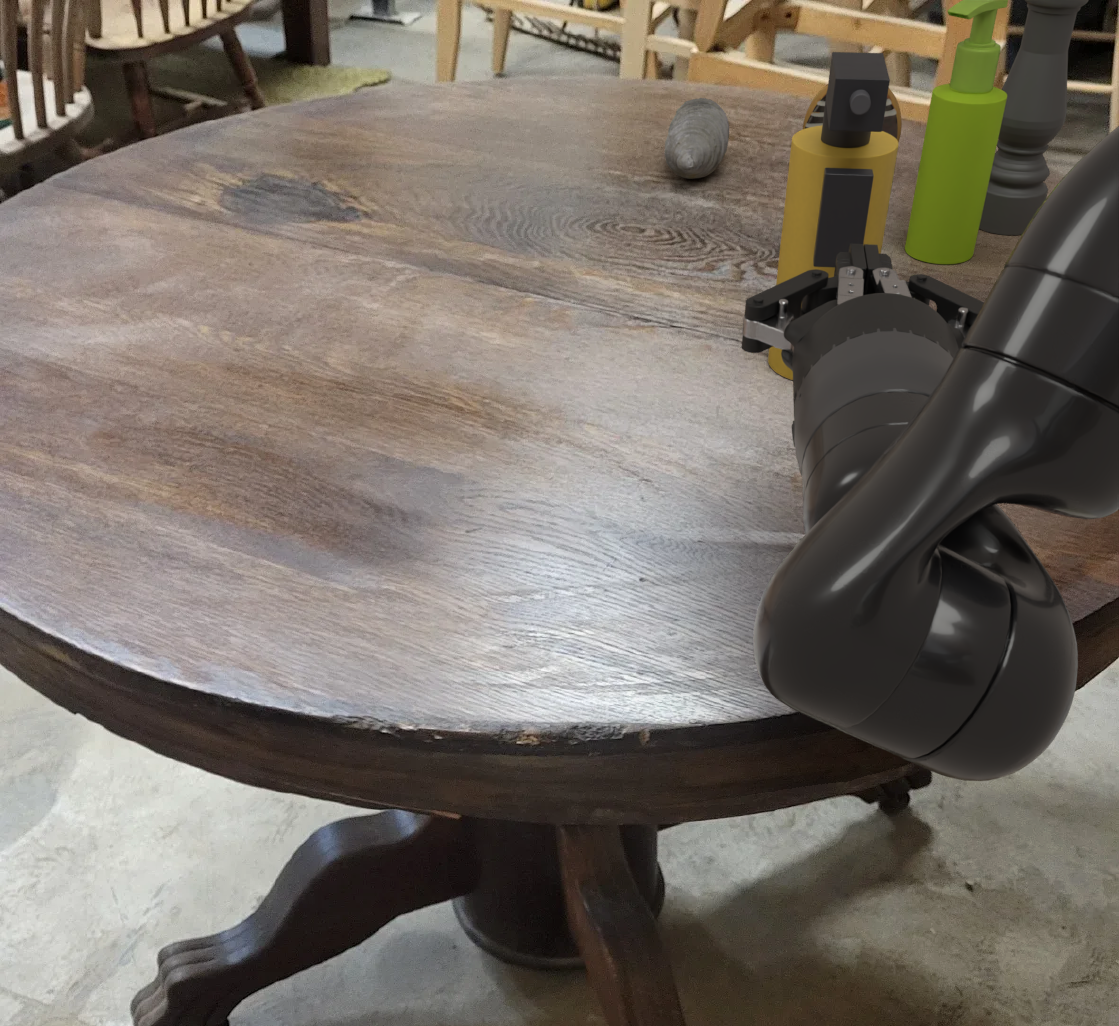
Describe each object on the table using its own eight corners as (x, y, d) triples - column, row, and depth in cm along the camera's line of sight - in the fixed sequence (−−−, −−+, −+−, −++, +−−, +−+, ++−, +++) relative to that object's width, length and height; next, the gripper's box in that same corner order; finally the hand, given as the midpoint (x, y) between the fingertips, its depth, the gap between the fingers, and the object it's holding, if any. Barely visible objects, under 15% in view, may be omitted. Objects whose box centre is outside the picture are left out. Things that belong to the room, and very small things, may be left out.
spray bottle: (859, 344, 94) (908, 37, 80) (867, 413, 86) (924, 84, 72) (768, 340, 95) (800, 35, 81) (767, 407, 87) (803, 81, 73)
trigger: (858, 261, 81) (872, 168, 77) (859, 269, 80) (874, 175, 76) (812, 259, 82) (824, 167, 78) (813, 267, 81) (825, 173, 77)
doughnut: (796, 180, 122) (808, 71, 116) (799, 167, 125) (811, 61, 118) (892, 186, 120) (910, 76, 114) (893, 173, 123) (911, 66, 117)
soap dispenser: (883, 253, 108) (926, -1, 95) (930, 233, 111) (977, -15, 98) (940, 273, 104) (992, 12, 91) (986, 252, 108) (1043, -3, 95)
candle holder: (972, 207, 116) (1037, -103, 100) (1040, 214, 114) (1117, -100, 98) (967, 231, 111) (1034, -90, 95) (1038, 238, 110) (1118, -86, 94)
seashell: (651, 165, 117) (675, 75, 115) (659, 176, 130) (680, 95, 127) (715, 183, 117) (740, 93, 114) (716, 192, 130) (739, 111, 127)
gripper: (1059, 342, 51) (1000, 196, 64) (737, 326, 52) (744, 186, 65) (1016, 497, 55) (969, 332, 68) (722, 479, 57) (732, 320, 70)
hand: (859, 261), depth 67 cm, fingers closed
